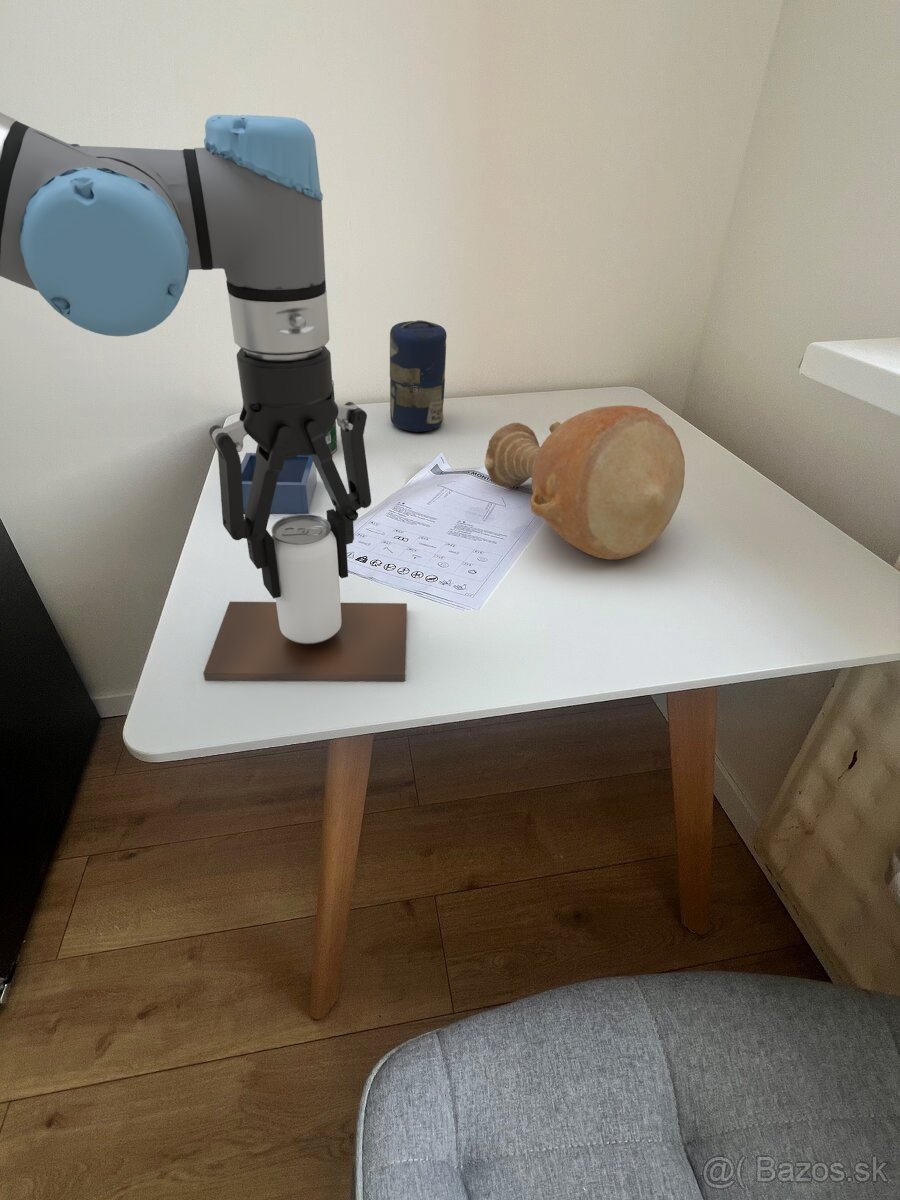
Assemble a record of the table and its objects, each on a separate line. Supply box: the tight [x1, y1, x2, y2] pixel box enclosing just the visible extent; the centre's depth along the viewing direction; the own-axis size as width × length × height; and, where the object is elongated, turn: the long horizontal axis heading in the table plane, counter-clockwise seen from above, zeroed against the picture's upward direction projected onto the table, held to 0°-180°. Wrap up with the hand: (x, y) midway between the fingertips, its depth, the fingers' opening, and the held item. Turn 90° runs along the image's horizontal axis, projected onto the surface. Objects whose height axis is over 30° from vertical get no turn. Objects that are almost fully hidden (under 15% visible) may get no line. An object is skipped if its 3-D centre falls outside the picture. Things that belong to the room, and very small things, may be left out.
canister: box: [389, 319, 448, 433], centre depth 119 cm, size 10×10×18 cm
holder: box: [241, 452, 318, 515], centre depth 100 cm, size 10×10×4 cm
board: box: [202, 601, 408, 682], centre depth 75 cm, size 20×12×1 cm, turn 92°
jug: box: [484, 404, 686, 560], centre depth 93 cm, size 20×19×30 cm
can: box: [271, 513, 342, 644], centre depth 70 cm, size 6×6×12 cm
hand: (306, 580), depth 70 cm, fingers closed on can, 6 cm apart
